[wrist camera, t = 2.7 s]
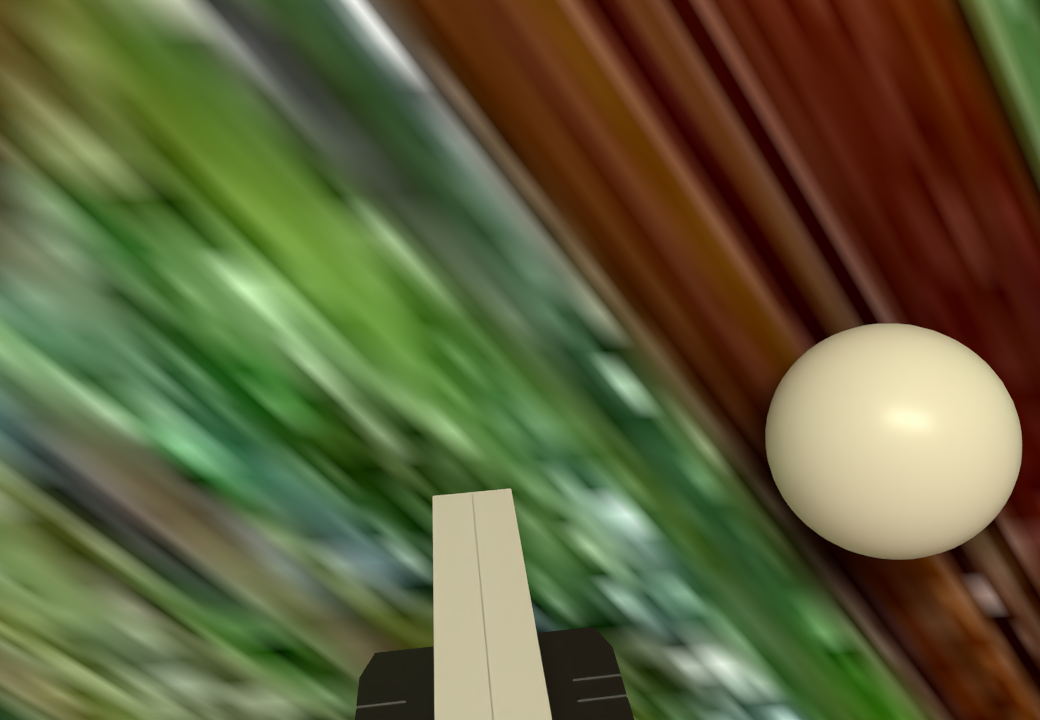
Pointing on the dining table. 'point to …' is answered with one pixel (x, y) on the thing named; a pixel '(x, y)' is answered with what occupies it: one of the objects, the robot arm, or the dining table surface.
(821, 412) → the cue ball
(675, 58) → the dining table surface
